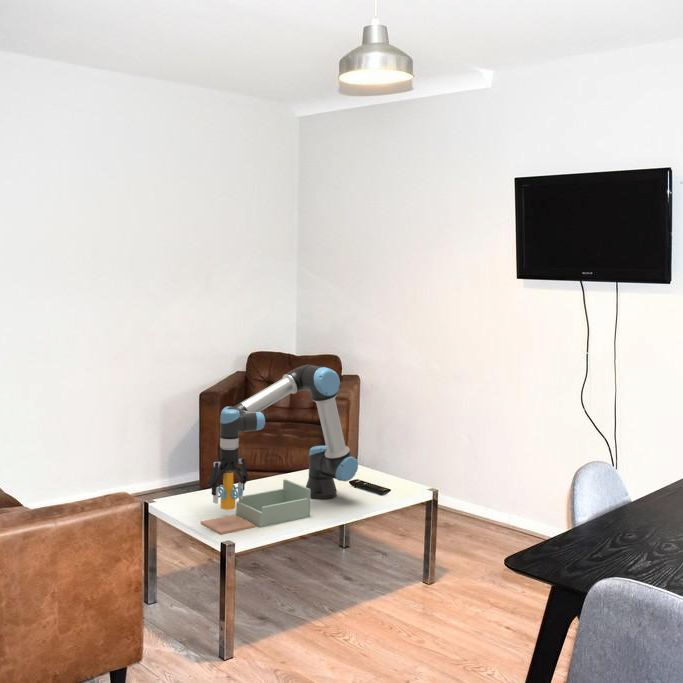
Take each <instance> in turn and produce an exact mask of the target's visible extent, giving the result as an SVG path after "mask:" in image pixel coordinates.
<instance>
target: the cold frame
mask: <svg viewBox="0 0 683 683" xmlns="http://www.w3.org/2000/svg"><path fill="white" fill-rule="evenodd" d="M282 481H283V484H282V485H283V487H282V488H278V489H273V490H268V491H264V492H258V493H252V494H246V495H243V499H239V498H238V501H235V509H236V510H235V512H236V513H235V515H236V516H238V517H240V518H242V519H244V520H246V521H248V522H250V523H252V524H254V525H255V526H256V527H258V528H263V527H267V526H268V527H269V526H271V525H277V524H281V523H286V522H290V521H291V522H292V521H296V520H301V519H305V518H309V517H311V498H310V493H311V489H309V488H306V486H304V485H301V484H299V483H295V482H294V481H290V480H289V479H283V480H282Z"/></svg>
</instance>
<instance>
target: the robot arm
mask: <svg viewBox="0 0 683 683" xmlns="http://www.w3.org/2000/svg"><path fill="white" fill-rule="evenodd" d="M340 386H341V380H340V376H339V375H338V373H337V372H336V371H335V370H333V369H331V368H329V367H325V366H318V365H313V364H305V365H302V366H299V367H296V368H295V369H292V370H290V371H288V372H286V373H285V374H283V375H282V378H280V380H277V381H276V382H274V383H273V384H270V385H269V386H268V387H266V388H264V389H262V390H260V391H258V392H257V393H255V394H253V395H252V396H250V397H249V398H246V399H244V400H243V401H241V402H239V403H238V404H236V405H234V406H225V407H224V408H223V409H222V410H221V412H220V420H219V422H220V423H219V424H220V425H219V426H220V428H219V430H220V431H219V432H220V433H219V435H220V436H219V440H220V441H219V447H220V448H219V458H220V459H219V461H213V462H212V468H211V471H210V474H209V478H208V481H207V484H206V486H208V487H210V488H211V495H212V503H213V504H216V505H218V504H219V498H218V496H219V492H218V487H219V484H220V482H221V480H222V478H223V477H224V473H225V472H226V471H233V472H234V475H235V476H236V477H237V479H238V481H239V482H237V487H241V488H242V489H243V491H245V484H246V483H247V482H248V481H250V477H249V474H248V471H247V468H246V464H245V463H246V462H245V461H246V459H245V458H242V457H239V444H240V443H239V442H240V437H239V436H240V433H244V432H245V433H246V432H256V431H260V430H263V429H264V427H265V425H266V418H265V415H264V413H262V412H261V411H263V410H265V409H267V408H268V407H271V405H273V404H275V403H277V402H279V401H280V400H282V399H284V398H285V397H287V396H288V395H290V394H292V395H295V394H297V393H298V392H301V391H305V392H306V391H307V392H310V394H309V395H310V397H311V400H312V401H313V402H315V403H316V408H317V414H318V417H319V420H320V426H321V429H322V434H323V439H324V443H325V445H315V446H312V447H311V448H309V453H308V479H307V482H306V486H305V487H306V488H309V489H311V493H310V499H316V500H329V499H333V498H335V497H337V496H338V495H337V492H338V491H337V487H336V482H335V481H334V480H337V481H339V482H340V481H341V482H348V481H350V480H352V479H353V478H354V477H355V476H356V473H357V472H358V469H359V462H358V460H357V458H355V456H352V453H351V448H349V446H347V445H346V443H345V442H346V441H345V437H344V434H343V429H342V424H341V419H340V415H339V411H338V407H337V402H336V398H337V396H338V391H339V390H340V388H339V387H340ZM238 466H239V467H238ZM239 468H240V469H239ZM237 492H238V495H239V494H241V490H240V489H237ZM243 496H244V493H243V494H242V495H241V496H240V497H238V498H237V499H238V500H239V499H243Z"/></svg>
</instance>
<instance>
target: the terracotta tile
mask: <svg viewBox="0 0 683 683" xmlns="http://www.w3.org/2000/svg"><path fill="white" fill-rule="evenodd" d="M200 524H201V525H202V526H204V527H206V528H208V529H210V530H211V531H213V532H216V533H217V534H219V535H225V534H231V533H234V532H238V531H243V530H248V529H253V528H256V525H255V524H252V523H250V522H248V521H246V520H244V519H242V518H240V517H238V516H236V514H231V515H225V516H221V517H217V518H215V517H214V518H211V519H206V520H201V521H200Z"/></svg>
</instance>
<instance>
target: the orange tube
mask: <svg viewBox="0 0 683 683" xmlns="http://www.w3.org/2000/svg"><path fill="white" fill-rule="evenodd" d="M234 476H235V472H234V471H233V470H229V471H226V472H225V473H224V475H223V484H220V485H218V486H217V487H218V499H219V498H220V505H219V506H220V509H222V510H224V511H225V510H226V511H227V510H228V511H230V510H234V509H236V500H237V499H239V498H238V497H240V496H241V495H242V494H243V495H244V490H243V489H242V488H241V487H238V486H236V485H235V484H234ZM238 489H240V490H241V494H239V495H238Z"/></svg>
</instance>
